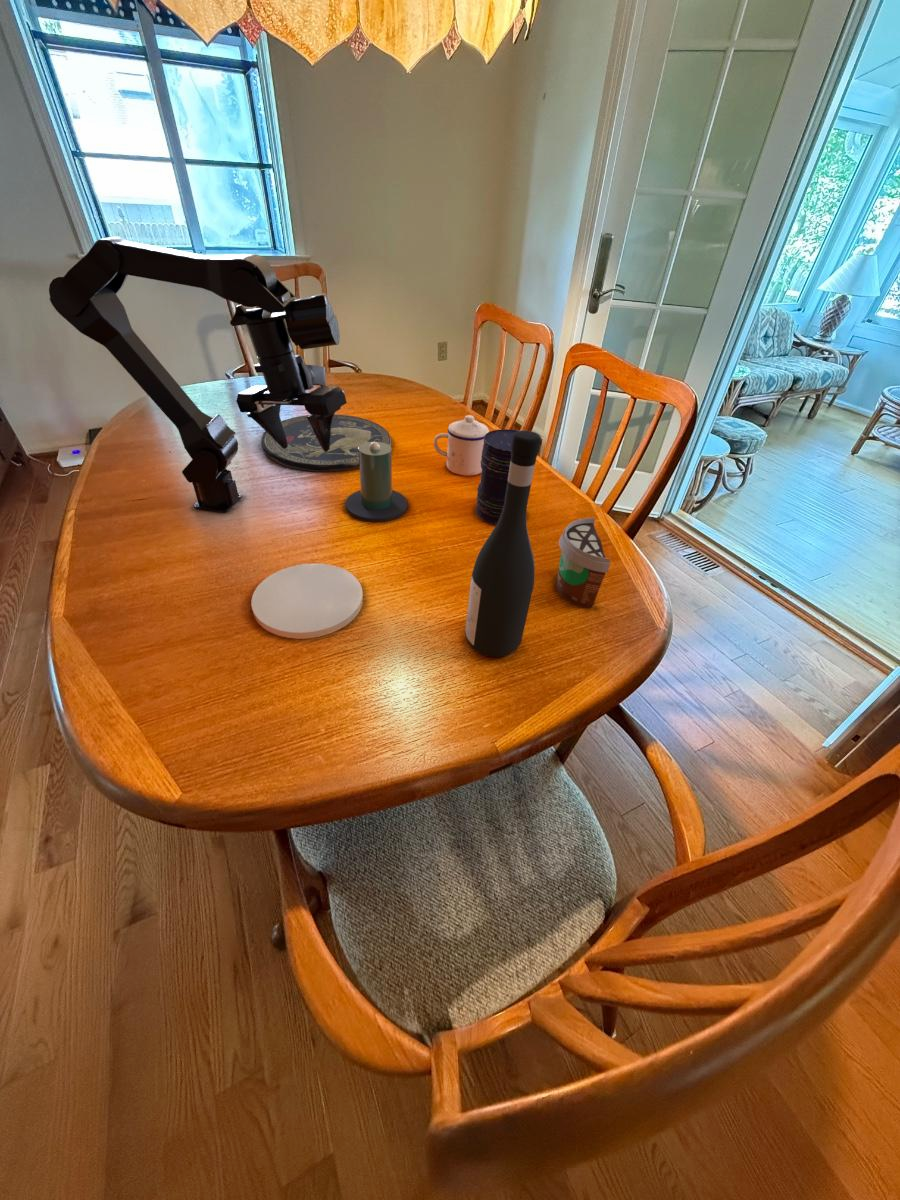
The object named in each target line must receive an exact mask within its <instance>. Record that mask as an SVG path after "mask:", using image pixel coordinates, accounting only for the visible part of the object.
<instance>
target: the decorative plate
mask: <svg viewBox="0 0 900 1200" xmlns="http://www.w3.org/2000/svg"><path fill="white" fill-rule="evenodd" d="M309 415H310V414H305V415H299V416H293V417H290V418H287V419H284V420H281V422H282V425H283V429H284V432H285V435H286V439H287V444H288V447H287V448H285V449H283V448H282V447H281V446H280V445H279V444H278V443H277V442H276V441H275V440H274V439H273V438H272V437H271V436H270V435H269V434H268V433H267V432H266V431H265V430H264V432H263V434H262V436H261V437H260V444H261V445H260V447H261V449H262V451H263V454H265V455H266V456H267V457H268V458H269V459H270V460H272V461H274V462H276V463H277V464H279V465H283V466H285V467H289V468H292V469H296V470H301V471H307V472H308V471H309V472H324V473H325V472H329V473H331V472H342V471H350V470H355V469H359V454H358V447H359V446H360V445H361V444H363V443H367V442H382V443H386V444H388V445H390V446H391V447H392V438H391V435H390V434H389V431H388V430H387V429H386V428H384V426H382V425H380V424H378V423H377V422H374V421H372V420H370V419H367V418H364V417H360V416H354V415H348V414H338V413H335V414H334V416H333V418H332V424H331V434H330V449H329V450H328V451H327V452H324V450H323V449H322V447H321V446H320V444H319V442H318V439H317V437H316V435H315V433H314V431H313V429H312V427H311V425H310V423H309V421H308V419H307V417H308V416H309Z"/></svg>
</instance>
